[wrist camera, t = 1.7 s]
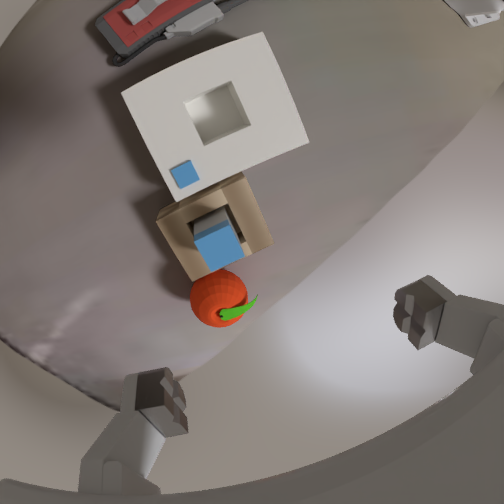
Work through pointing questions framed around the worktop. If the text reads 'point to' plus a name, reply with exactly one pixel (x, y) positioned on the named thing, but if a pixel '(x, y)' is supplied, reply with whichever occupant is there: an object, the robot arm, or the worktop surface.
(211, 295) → the clementine
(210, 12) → the walkie-talkie
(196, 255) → the holster
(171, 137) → the port
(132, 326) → the worktop surface
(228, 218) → the plug
